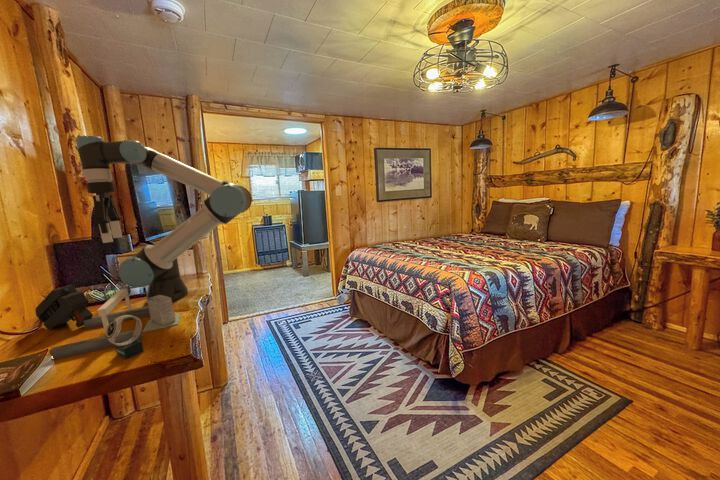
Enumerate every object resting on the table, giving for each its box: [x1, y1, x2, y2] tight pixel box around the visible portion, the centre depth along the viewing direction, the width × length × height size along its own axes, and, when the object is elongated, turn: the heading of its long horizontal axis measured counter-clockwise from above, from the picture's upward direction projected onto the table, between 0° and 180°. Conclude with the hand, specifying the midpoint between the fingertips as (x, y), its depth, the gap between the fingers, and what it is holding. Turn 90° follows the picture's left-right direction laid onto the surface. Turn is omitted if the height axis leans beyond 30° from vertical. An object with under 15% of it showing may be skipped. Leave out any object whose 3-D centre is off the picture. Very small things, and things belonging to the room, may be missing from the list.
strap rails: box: [48, 305, 150, 360], centre depth 98 cm, size 21×24×3 cm
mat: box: [142, 313, 183, 334], centre depth 103 cm, size 10×10×1 cm
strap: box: [96, 285, 133, 336], centre depth 98 cm, size 2×24×9 cm, turn 24°
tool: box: [34, 284, 94, 331], centre depth 105 cm, size 6×19×15 cm
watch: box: [105, 315, 145, 360], centre depth 83 cm, size 6×8×11 cm
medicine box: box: [146, 295, 176, 325], centre depth 102 cm, size 8×4×9 cm, turn 59°
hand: (113, 239), depth 110 cm, fingers open, 13 cm apart
